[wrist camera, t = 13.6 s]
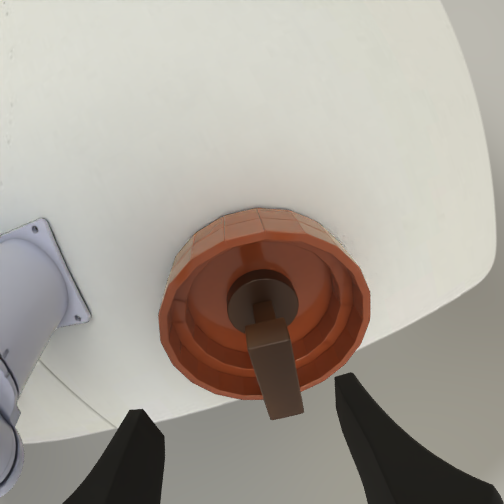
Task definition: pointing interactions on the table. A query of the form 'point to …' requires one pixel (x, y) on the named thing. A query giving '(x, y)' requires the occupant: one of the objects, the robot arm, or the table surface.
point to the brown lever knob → (268, 336)
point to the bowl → (249, 259)
